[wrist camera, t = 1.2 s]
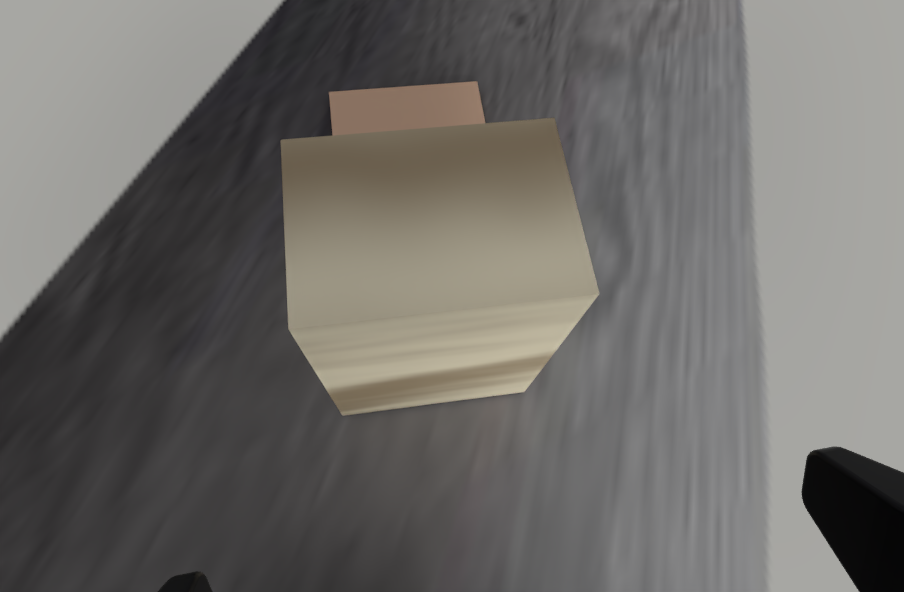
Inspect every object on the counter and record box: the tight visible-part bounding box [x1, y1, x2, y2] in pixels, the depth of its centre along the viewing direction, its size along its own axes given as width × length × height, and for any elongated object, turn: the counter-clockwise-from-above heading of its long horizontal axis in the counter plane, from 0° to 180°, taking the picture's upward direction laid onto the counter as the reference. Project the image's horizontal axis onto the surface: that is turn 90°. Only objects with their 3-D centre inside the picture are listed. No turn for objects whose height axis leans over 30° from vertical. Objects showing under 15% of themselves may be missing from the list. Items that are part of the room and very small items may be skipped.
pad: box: [329, 81, 485, 136], centre depth 26 cm, size 10×7×1 cm
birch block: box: [281, 118, 599, 416], centre depth 18 cm, size 5×7×10 cm
